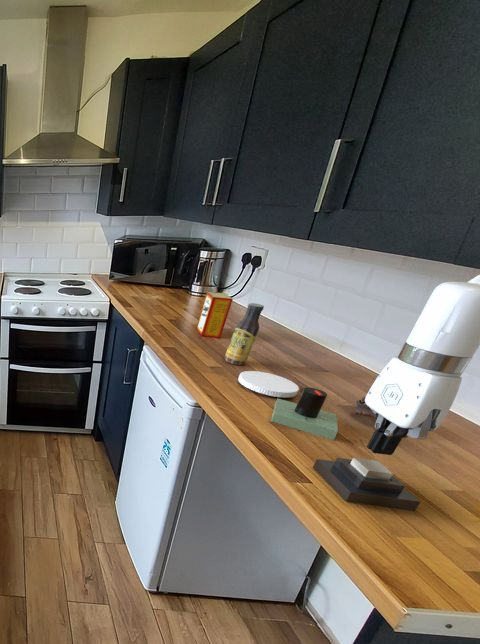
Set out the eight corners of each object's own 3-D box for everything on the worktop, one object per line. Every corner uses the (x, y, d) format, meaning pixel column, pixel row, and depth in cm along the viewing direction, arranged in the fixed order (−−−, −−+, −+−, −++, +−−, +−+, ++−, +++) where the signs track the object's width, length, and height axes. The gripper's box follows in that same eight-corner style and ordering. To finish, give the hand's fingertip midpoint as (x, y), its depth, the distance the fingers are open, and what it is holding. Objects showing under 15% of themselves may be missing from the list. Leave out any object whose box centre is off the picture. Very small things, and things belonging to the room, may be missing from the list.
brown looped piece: (403, 440, 93) (393, 408, 93) (352, 435, 102) (343, 406, 101) (425, 416, 98) (416, 386, 97) (374, 414, 107) (365, 386, 106)
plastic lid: (273, 379, 121) (276, 372, 120) (308, 402, 108) (311, 393, 107) (227, 377, 121) (229, 369, 120) (256, 399, 108) (259, 391, 107)
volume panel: (332, 423, 99) (337, 413, 97) (333, 440, 91) (338, 430, 90) (273, 406, 105) (277, 397, 104) (270, 421, 98) (274, 412, 97)
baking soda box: (196, 329, 165) (207, 290, 158) (213, 331, 163) (225, 292, 157) (201, 336, 156) (213, 296, 150) (220, 338, 155) (233, 298, 148)
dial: (290, 407, 100) (300, 385, 97) (310, 410, 99) (320, 387, 96) (300, 416, 96) (311, 393, 93) (321, 419, 95) (332, 395, 92)
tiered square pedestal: (373, 475, 80) (382, 459, 78) (414, 511, 71) (426, 493, 69) (312, 467, 82) (320, 451, 80) (345, 501, 73) (355, 484, 71)
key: (372, 467, 76) (376, 460, 76) (388, 481, 73) (393, 473, 72) (349, 464, 77) (353, 457, 76) (364, 478, 73) (368, 470, 73)
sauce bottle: (219, 360, 134) (238, 302, 126) (231, 357, 137) (251, 300, 128) (238, 367, 129) (258, 307, 121) (250, 365, 131) (271, 306, 123)
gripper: (372, 341, 73) (329, 427, 80) (447, 375, 59) (387, 474, 67) (419, 346, 72) (371, 432, 79) (506, 381, 58) (438, 481, 66)
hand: (378, 451), depth 73 cm, fingers closed
